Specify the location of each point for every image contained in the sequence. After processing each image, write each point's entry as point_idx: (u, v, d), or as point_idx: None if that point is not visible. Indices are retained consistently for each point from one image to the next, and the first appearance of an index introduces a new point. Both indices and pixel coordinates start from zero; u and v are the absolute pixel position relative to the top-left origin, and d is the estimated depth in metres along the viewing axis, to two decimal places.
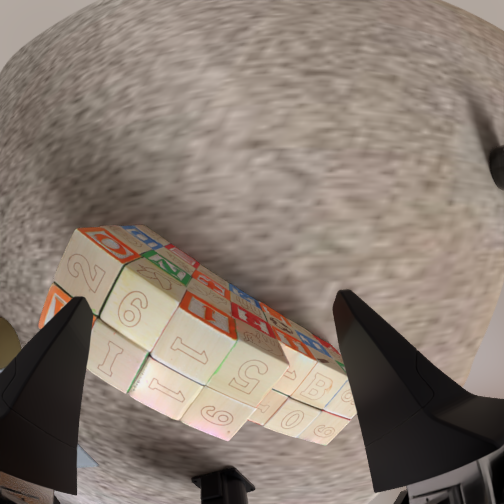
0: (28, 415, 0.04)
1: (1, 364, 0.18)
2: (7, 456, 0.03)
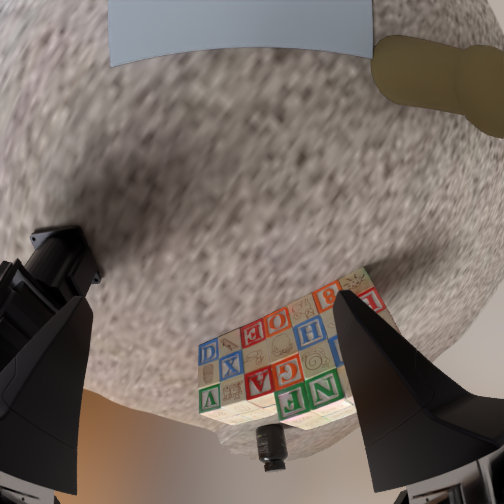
0: (28, 415, 0.04)
1: (407, 85, 0.13)
2: (7, 456, 0.03)
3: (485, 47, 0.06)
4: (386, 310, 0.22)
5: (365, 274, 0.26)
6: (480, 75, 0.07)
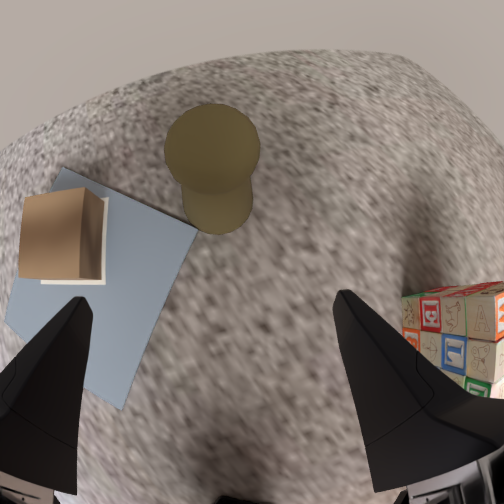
0: (28, 416, 0.04)
1: (218, 217, 0.19)
2: (7, 456, 0.03)
3: (164, 151, 0.14)
4: (441, 298, 0.18)
5: (407, 299, 0.22)
6: (183, 176, 0.13)
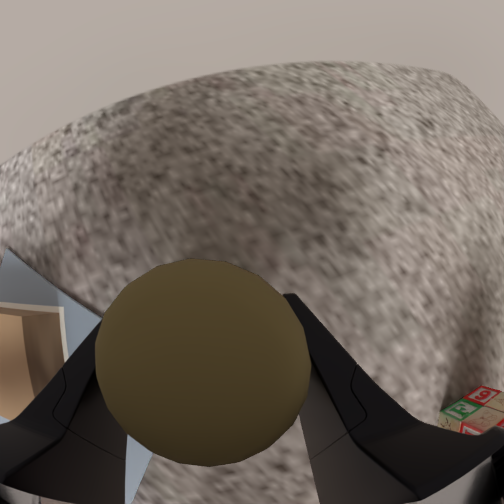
0: (83, 432, 0.04)
1: None
2: (63, 482, 0.03)
3: None
4: None
5: (447, 417, 0.14)
6: None
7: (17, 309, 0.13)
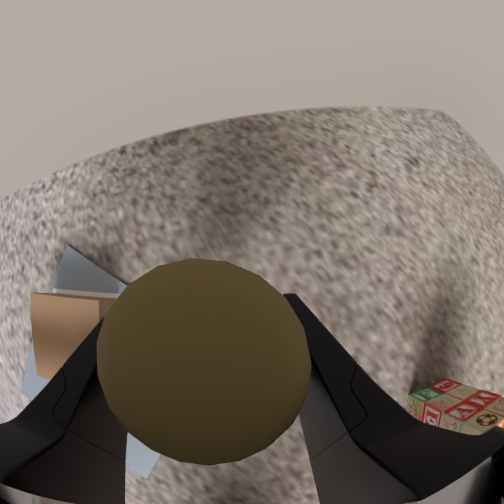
0: (83, 432, 0.04)
1: None
2: (63, 482, 0.03)
3: None
4: (443, 413, 0.16)
5: (413, 399, 0.21)
6: None
7: (79, 295, 0.20)
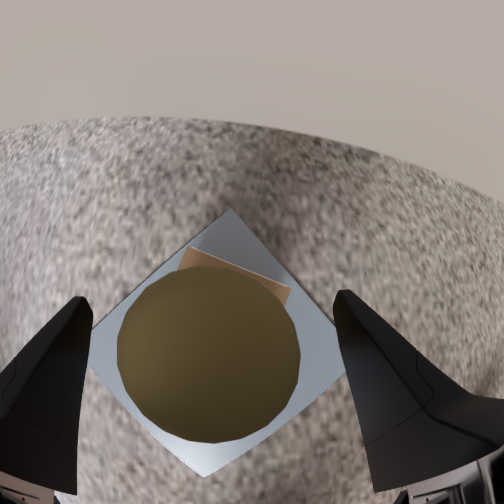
0: (28, 415, 0.04)
1: None
2: (7, 456, 0.03)
3: None
4: None
5: None
6: None
7: None
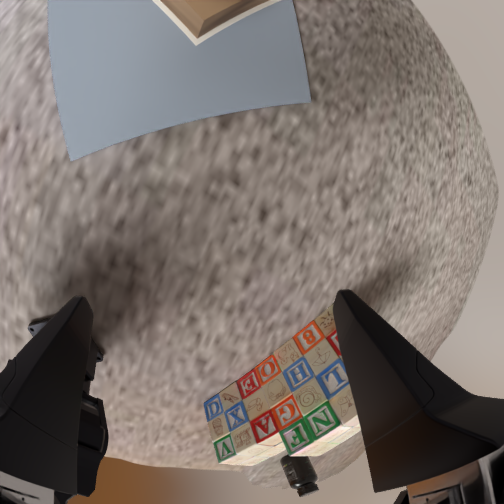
0: (28, 415, 0.04)
1: None
2: (7, 456, 0.03)
3: None
4: None
5: None
6: None
7: None
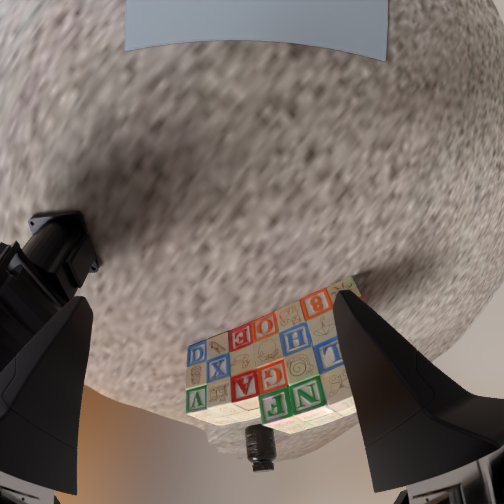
0: (28, 415, 0.04)
1: None
2: (7, 456, 0.03)
3: None
4: None
5: (353, 283, 0.26)
6: None
7: None
